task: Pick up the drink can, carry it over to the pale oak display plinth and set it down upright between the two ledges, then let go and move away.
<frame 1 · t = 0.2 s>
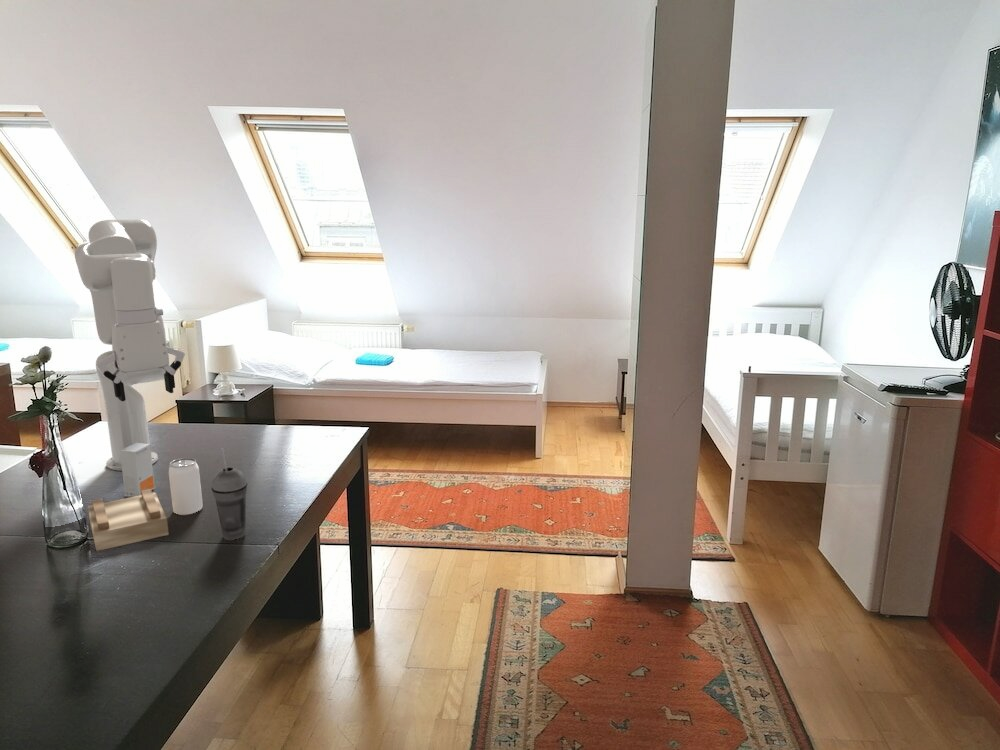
hand: (146, 395, 157), 30 cm above the table, tool pointing down, fingers open, 9 cm apart
plinth: (128, 528, 163), on the table
can: (188, 510, 172), on the table
skincare box: (140, 493, 182), on the table
beverage cup: (234, 536, 160), on the table
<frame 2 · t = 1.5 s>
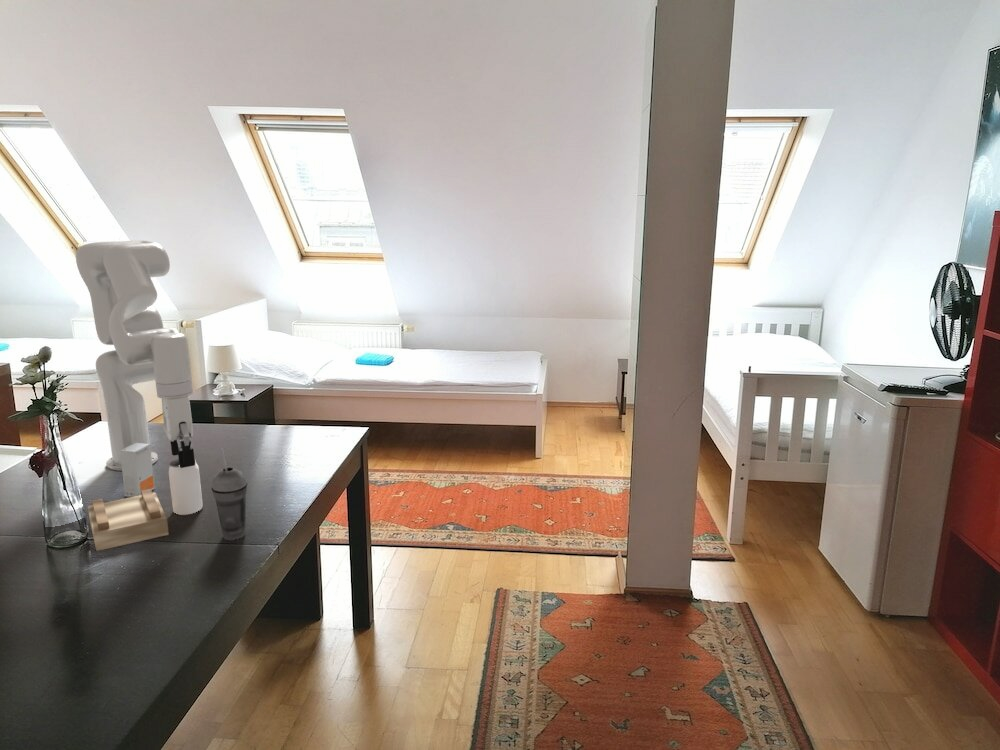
hand: (183, 460, 168), 13 cm above the table, tool pointing down, fingers open, 9 cm apart
nothing on the table moved.
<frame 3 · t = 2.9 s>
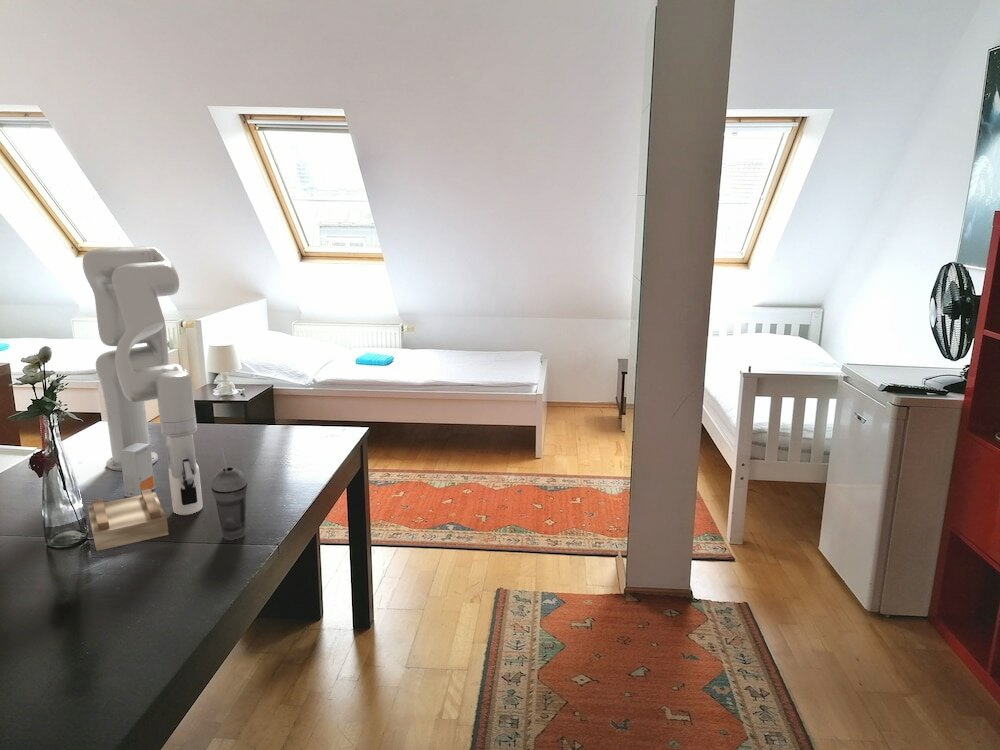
hand: (186, 497, 171), 3 cm above the table, tool pointing down, fingers closed on can, 6 cm apart
can: (188, 510, 172), on the table, touching gripper
everything else where it was.
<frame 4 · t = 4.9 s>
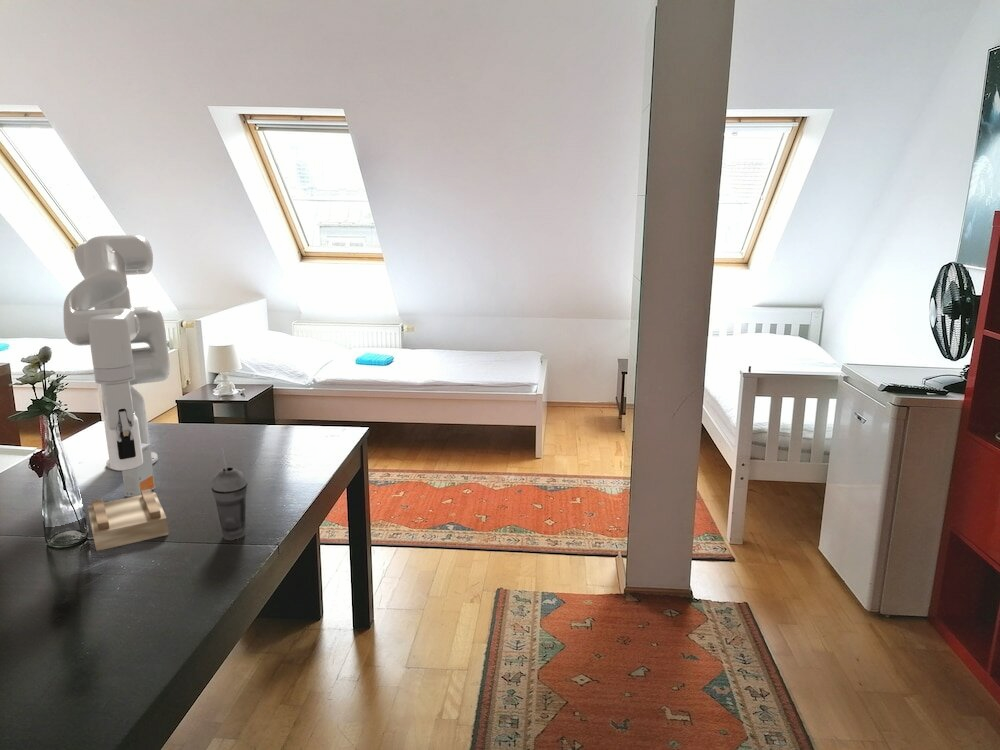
hand: (125, 452, 159), 18 cm above the table, tool pointing down, fingers closed on can, 6 cm apart
can: (127, 466, 160), point 14 cm above the table, touching gripper
everything else where it was.
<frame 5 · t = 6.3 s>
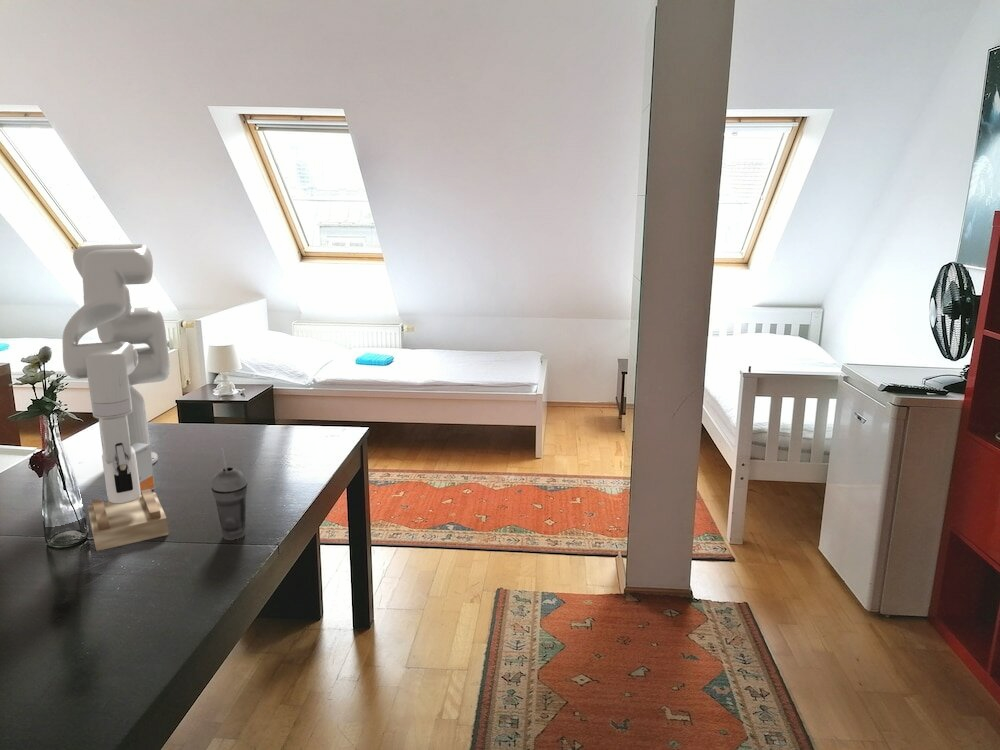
hand: (122, 484, 160), 10 cm above the table, tool pointing down, fingers closed on can, 6 cm apart
can: (124, 499, 161), point 7 cm above the table, touching gripper
everything else where it was.
when the fingers open (8 cm above the table, at t = 7.2 s): can drops 1 cm, resting on plinth.
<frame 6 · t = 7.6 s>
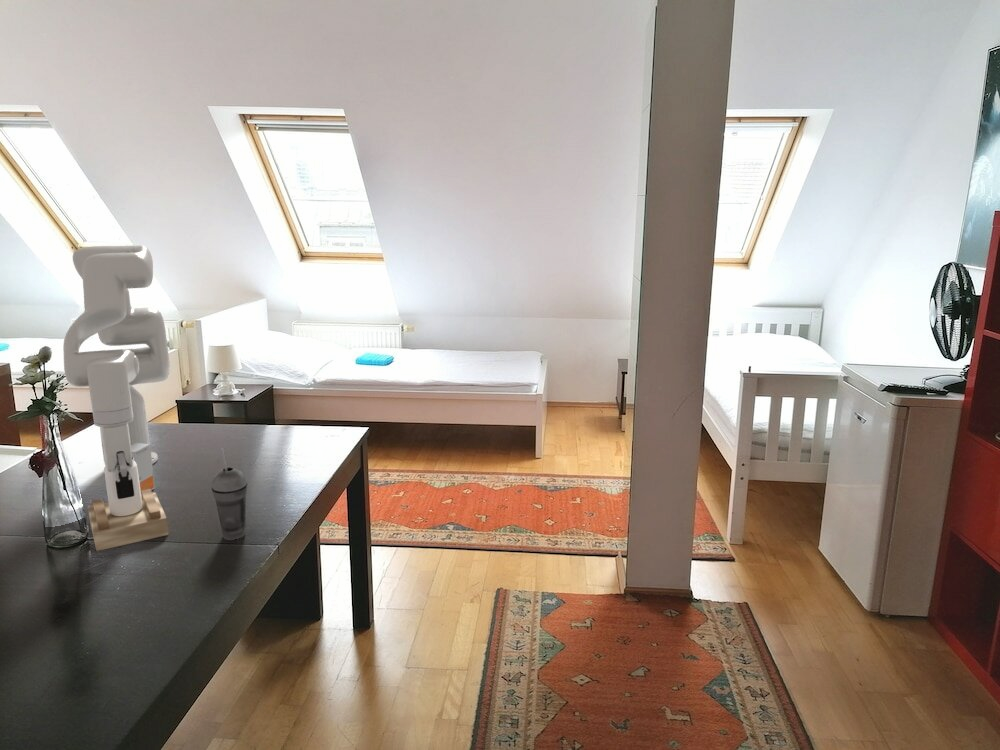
hand: (123, 489, 160), 9 cm above the table, tool pointing down, fingers open, 9 cm apart
can: (126, 512, 162), point 4 cm above the table, touching plinth
everything else where it was.
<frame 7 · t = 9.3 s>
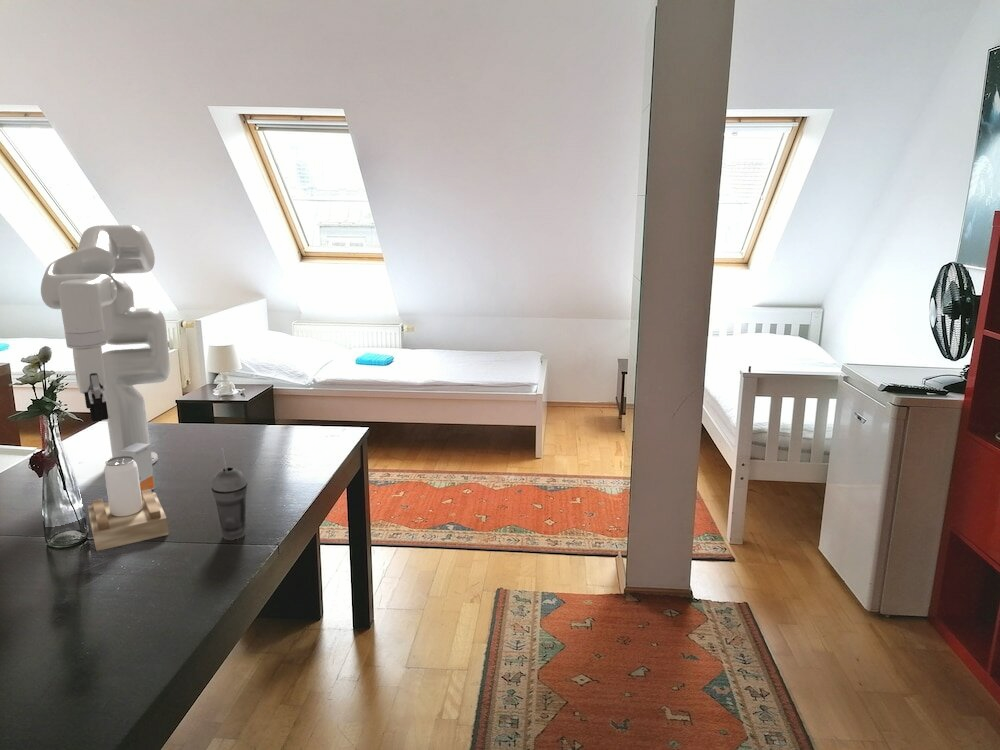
hand: (97, 413, 161), 25 cm above the table, tool pointing down, fingers open, 9 cm apart
nothing on the table moved.
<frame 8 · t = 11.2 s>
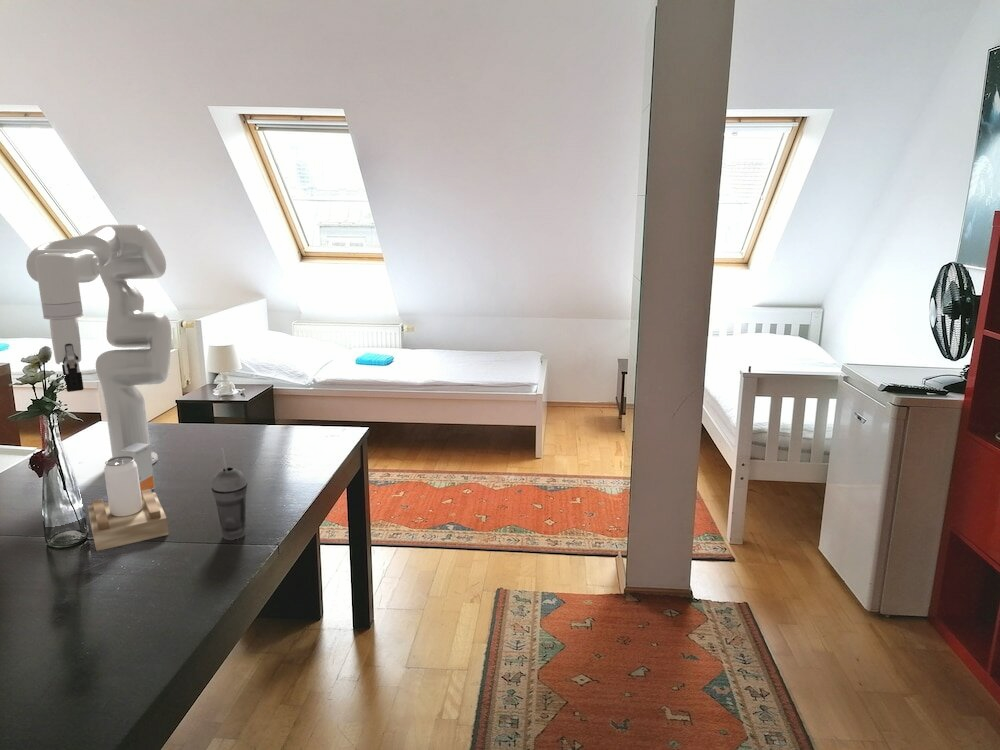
hand: (73, 385, 164), 30 cm above the table, tool pointing down, fingers open, 9 cm apart
nothing on the table moved.
at the end: can inside the target area on the plinth (0.2 cm from its centre), point 3.8 cm above the plinth's base; can tilted 0°; the gripper is holding nothing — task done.
